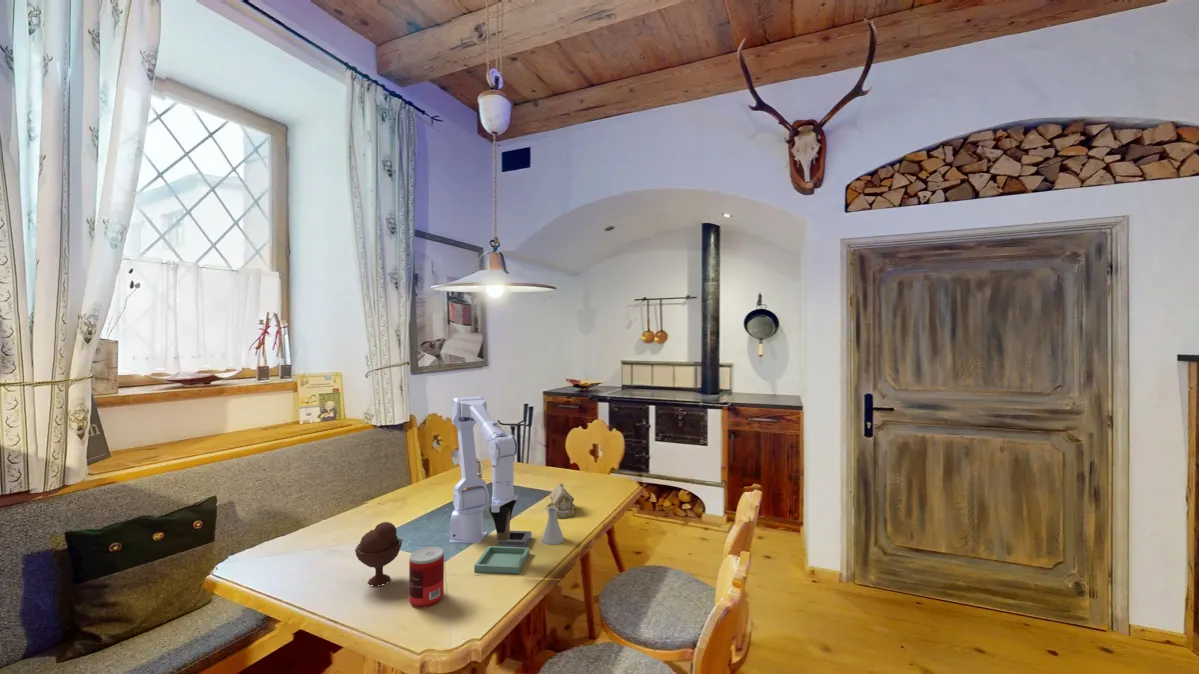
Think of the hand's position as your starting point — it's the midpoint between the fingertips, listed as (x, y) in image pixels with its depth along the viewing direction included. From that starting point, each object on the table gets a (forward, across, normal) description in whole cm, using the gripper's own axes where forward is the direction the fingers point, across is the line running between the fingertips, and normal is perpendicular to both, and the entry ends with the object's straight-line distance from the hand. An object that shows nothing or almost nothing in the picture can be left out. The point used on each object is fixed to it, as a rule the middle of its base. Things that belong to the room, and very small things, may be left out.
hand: (503, 529), depth 132 cm
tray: (+10, 0, 0) cm, 10 cm away
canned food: (+10, -19, +13) cm, 25 cm away
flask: (+10, +16, -11) cm, 22 cm away
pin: (+2, 0, 0) cm, 2 cm away
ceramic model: (+10, +42, -9) cm, 44 cm away
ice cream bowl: (+10, -12, +29) cm, 33 cm away
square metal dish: (+10, +13, 0) cm, 16 cm away
